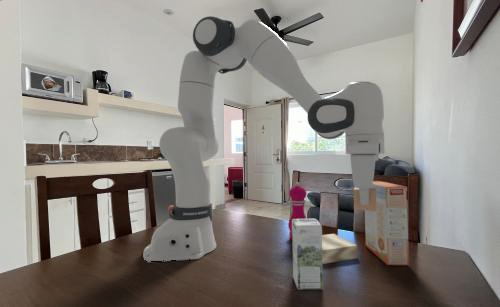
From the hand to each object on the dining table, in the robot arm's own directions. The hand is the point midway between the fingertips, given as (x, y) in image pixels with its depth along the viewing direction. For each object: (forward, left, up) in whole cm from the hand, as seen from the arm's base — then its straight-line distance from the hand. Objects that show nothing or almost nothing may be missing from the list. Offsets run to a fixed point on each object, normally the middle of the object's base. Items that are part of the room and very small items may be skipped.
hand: (365, 201), depth 62 cm
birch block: (-2, +13, -18) cm, 22 cm away
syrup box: (-17, 0, -18) cm, 25 cm away
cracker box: (+12, +6, -18) cm, 22 cm away
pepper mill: (-4, +28, -18) cm, 33 cm away
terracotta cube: (0, 0, -2) cm, 2 cm away
